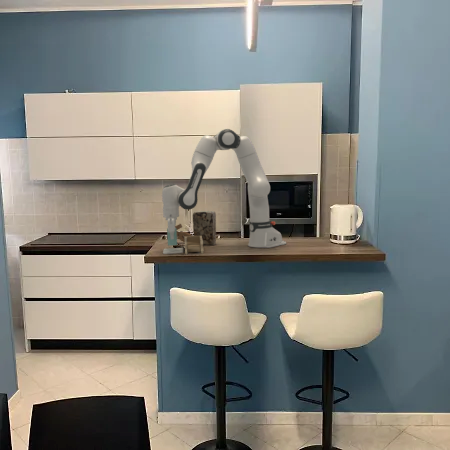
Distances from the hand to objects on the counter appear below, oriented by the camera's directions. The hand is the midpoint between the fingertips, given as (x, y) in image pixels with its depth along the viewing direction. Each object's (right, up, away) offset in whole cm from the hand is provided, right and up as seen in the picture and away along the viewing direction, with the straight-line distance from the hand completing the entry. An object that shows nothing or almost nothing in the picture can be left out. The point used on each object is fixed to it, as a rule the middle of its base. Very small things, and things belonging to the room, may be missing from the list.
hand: (172, 238), depth 268 cm
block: (0, -4, 0) cm, 4 cm away
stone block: (+18, -5, +19) cm, 26 cm away
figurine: (+2, -4, +27) cm, 27 cm away
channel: (+12, -7, +1) cm, 14 cm away
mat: (0, -8, +1) cm, 8 cm away
